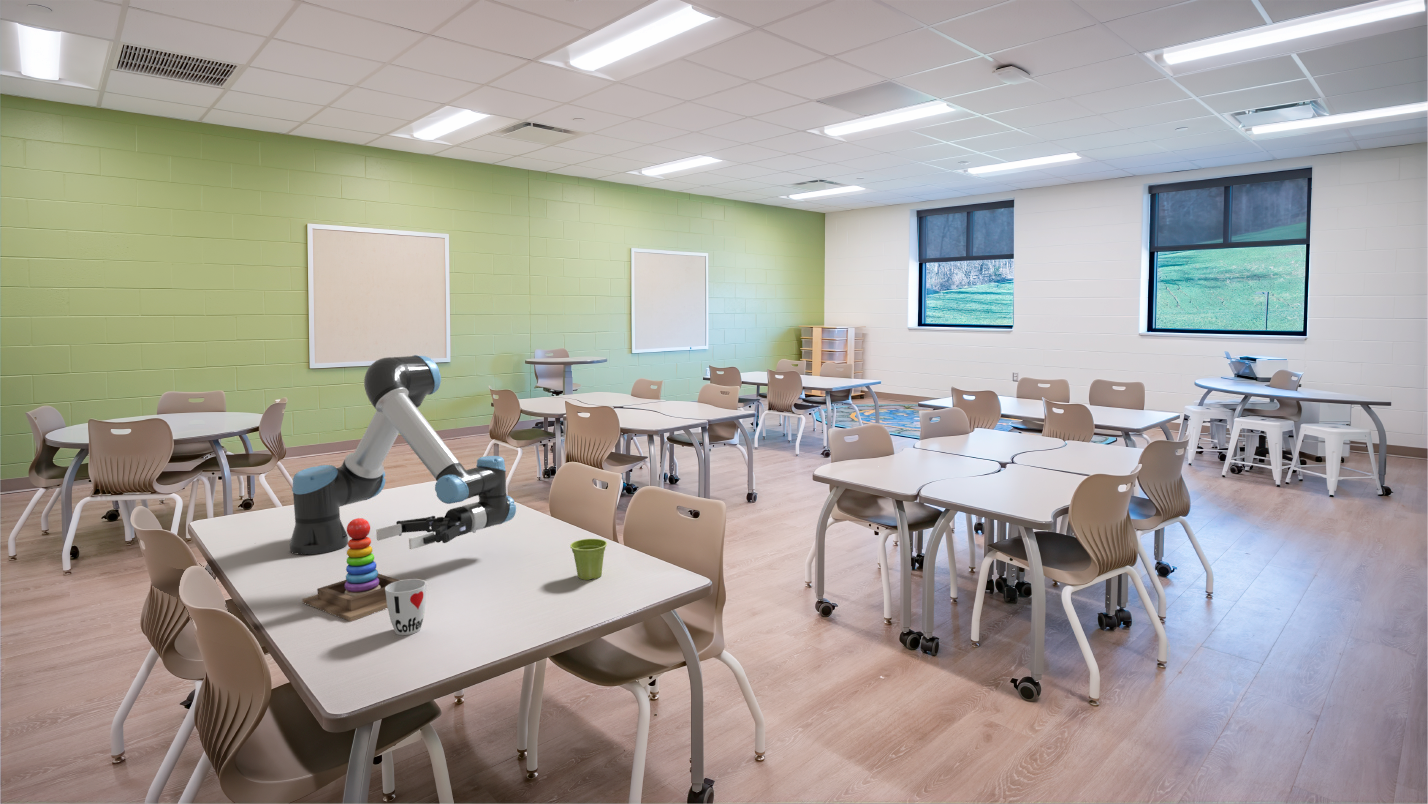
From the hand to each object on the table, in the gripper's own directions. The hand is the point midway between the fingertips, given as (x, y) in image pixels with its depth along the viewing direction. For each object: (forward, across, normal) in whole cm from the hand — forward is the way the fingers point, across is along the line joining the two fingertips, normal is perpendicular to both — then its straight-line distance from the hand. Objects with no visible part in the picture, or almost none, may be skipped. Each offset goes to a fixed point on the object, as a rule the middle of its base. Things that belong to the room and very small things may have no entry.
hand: (393, 539), depth 183 cm
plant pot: (-32, -35, -13) cm, 49 cm away
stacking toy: (+9, 0, -12) cm, 15 cm away
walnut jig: (+9, 0, -12) cm, 15 cm away
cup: (+14, -25, -13) cm, 31 cm away
